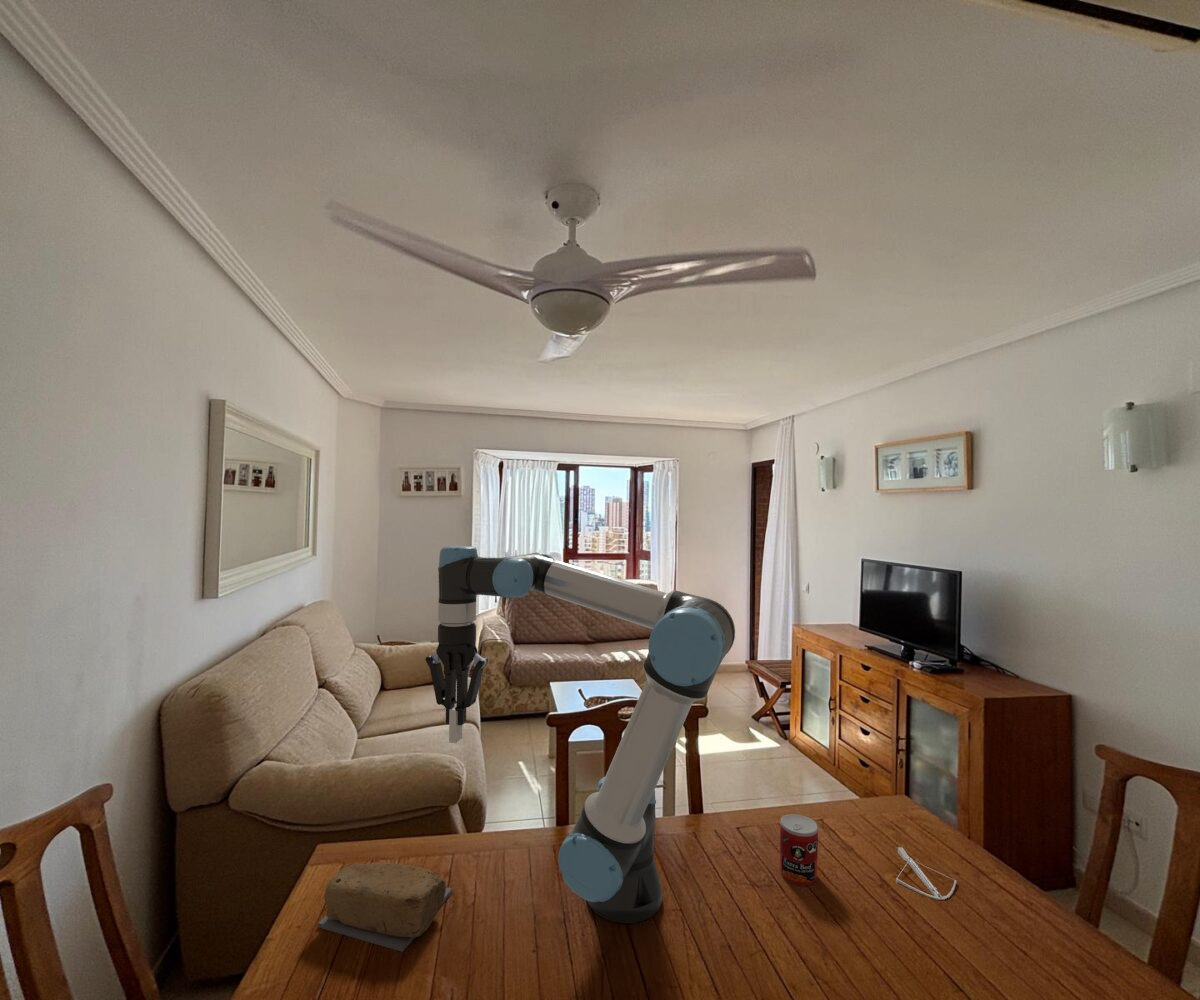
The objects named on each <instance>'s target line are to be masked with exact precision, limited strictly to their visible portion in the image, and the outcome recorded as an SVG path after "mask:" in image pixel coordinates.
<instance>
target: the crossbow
mask: <svg viewBox="0 0 1200 1000" xmlns="http://www.w3.org/2000/svg"><path fill="white" fill-rule="evenodd" d="M897 853H898V854H899V856H900V857H901V858H902V859H903V861H905V862H906V864H905V865H904V867H903V868H902V870H901V871H900V872H899V874H898V875H897V877H896V878H895V882H896V883H897V884H900V885H901V886H904V887H905V888H908V889H910V890H912V891H914V892H916V893H918V894H920V895H922V896H925V897H928V898H931V899H933V900H938V901H945V899H946V900H948V899H949V898H950V897H951V896H952V895H953V893H954V892H955V888H956V885H957V880H956V879H954V878H951V877H949V876H947V875H946V874H943V873H941V872H939V871H937V870H935V869H932V868H930V867H928V866H926V865H923V864H922V863H919V862H918V861H916V860H914V859H913V858H912V857H910V856H909V855H908V853H907V851H906V850H905V849H904V848H903V847H899V846H898V847H897ZM918 864H919V865H921V866H923V867H924V868H928V869H930V870H931V871H934V872H936V873H938V874H939V875H940V874H941V875H942V876H944V877H947V878H949V879H951V880H953V886H952V888H951V889H950V892H948V893H947V895H943V896H942V895H941V893H940V891H938V889H937V887H936V886H934V885H933V884H932V882H931V881H930V880H929V878H928V877H927V876H926V875H925V873H924V872H923V871H922V869H921V868H920V866H919V865H918ZM907 865H909V866H910V868H911V869H912V870H913V872H914V873H915V874H916V875H917V877H918V878H919V879H920V880H921V882H923V884H924V885H925V886H926V887H927V889H928V890H929V891H930V892H931V893H932V894H933V895H932V894H928V893H926V892H924V891H921V890H920V889H918V888H915V887H913V886H911V885H909V884H908V883H906V882H904V881H903V880H901V879H899V877H900V875H901V874H902V872H903V871H904V869H905V868H906V867H907ZM947 898H948V899H947Z"/></svg>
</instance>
